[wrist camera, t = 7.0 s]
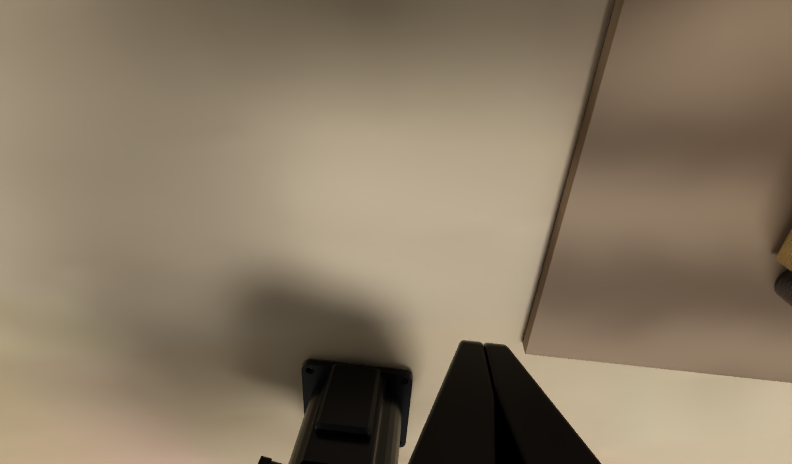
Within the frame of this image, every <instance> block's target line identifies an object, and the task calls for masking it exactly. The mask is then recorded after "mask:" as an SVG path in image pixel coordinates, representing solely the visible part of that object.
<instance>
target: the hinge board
mask: <svg viewBox="0 0 792 464" xmlns="http://www.w3.org/2000/svg"><path fill="white" fill-rule="evenodd" d="M791 229H792V0H616V1H615V5H614V8H613V12H612V16H611V19H610V23H609V27H608V30H607V34H606V38H605V41H604V45H603V49H602V52H601V56H600V60H599V64H598V67H597V71H596V75H595V78H594V82H593V86H592V89H591V93H590V97H589V100H588V104H587V108H586V111H585V115H584V119H583V123H582V126H581V130H580V134H579V137H578V141H577V145H576V148H575V152H574V156H573V159H572V163H571V167H570V170H569V174H568V178H567V181H566V185H565V189H564V193H563V196H562V200H561V204H560V207H559V211H558V215H557V218H556V222H555V226H554V229H553V233H552V237H551V240H550V244H549V248H548V252H547V255H546V259H545V263H544V266H543V270H542V274H541V277H540V281H539V285H538V288H537V292H536V296H535V299H534V303H533V307H532V311H531V314H530V318H529V322H528V325H527V329H526V333H525V336H524V340H523V347H524V351H525V354H531V355H540V356H549V357H559V358H568V359H577V360H586V361H596V362H605V363H614V364H623V365H633V366H642V367H651V368H660V369H669V370H679V371H688V372H697V373H706V374H716V375H725V376H734V377H743V378H753V379H762V380H771V381H780V382H789V383H792V307H791V306H790V305H789V304H788V303H786V302H785V301H784V300H783V299H782V298H780V297H779V296H778V295H777V294H776V292H775V289H774V285H775V282H776V280H777V278H778V277H779V276H780V274H782V273H783V272H784V271H785V270H787V269H788V268H786V267H785V266H783V265H782V264H781V263H779V262H778V261H777V260H775V258H776V256H777V254H778V253H779V251H780V249H781V247H782V245H783V244H784V242H785V240H786V238H787V236H788V234H789V233H790V231H791Z"/></svg>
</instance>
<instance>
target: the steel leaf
mask: <svg viewBox="0 0 792 464" xmlns="http://www.w3.org/2000/svg"><path fill="white" fill-rule="evenodd" d="M774 289H775V292H776V294H777V295H778V296H779V297H780V298H782V299H783V300H784V301H785V302H786V303H788V304H789V305H790V306H791V307H792V271H790V270H789V269H787V270H785V271H784V272H783V273H782V274H780V276H779V277H778V278H777V280H776V282H775V285H774Z"/></svg>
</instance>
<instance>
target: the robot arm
mask: <svg viewBox="0 0 792 464" xmlns="http://www.w3.org/2000/svg"><path fill="white" fill-rule="evenodd" d="M311 368H313V369H311ZM402 378H405V379H402ZM412 381H413V375H412V373H411V372H409V371H408V370H402V369H393V368H384V367H375V366H366V365H357V364H348V363H339V362H330V361H321V360H312V359H309V360H306V361H305V362H304V364H303V367H302V384H303V400H304V419H303V422H302V425H301V428H300V431H299V434H298V437H297V440H296V443H295V446H294V449H293V452H292V455H291V458H290V461H289V464H398V457H399V447H403V446H404V445H405V443H406V435H407V426H408V417H409V408H410V399H411V391H412ZM258 464H281V463H278V462H274V461H272V459H271V458H268V457H264V456H261V458H260V460H259V462H258ZM408 464H601V463H600V462H599V460H598V459H597V458H596V457H595V455H594V454H593V453H592V452H591V450H590V449H589V448H588V447H587V445H586V444H585V443H584V442H583V440H582V439H581V438H580V437H579V435H578V434H577V433H576V432H575V430H574V429H573V428H572V427H571V425H570V424H569V423H568V422H567V420H566V419H565V418H564V417H563V415H562V414H561V413H560V412H559V410H558V409H557V408H556V407H555V405H554V404H553V403H552V402H551V400H550V399H549V398H548V397H547V395H546V394H545V393H544V392H543V390H542V389H541V388H540V387H539V385H538V384H537V383H536V382H535V380H534V379H533V378H532V377H531V375H530V374H529V373H528V372H527V370H526V369H525V368H524V367H523V365H522V364H521V363H520V362H519V360H518V359H517V358H516V357H515V355H514V354H513V353H512V352H511V350H510V349H509V348H508V347H507V346H506V345H503V344H494V343H485V344H484V345H483V344H482V343H481V342H475V341H466V340H463V341H461V342H460V343H459V346H458V348H457V350H456V353H455V355H454V357H453V360H452V362H451V364H450V367H449V369H448V371H447V374H446V376H445V379H444V381H443V383H442V386H441V388H440V390H439V393H438V395H437V397H436V400H435V402H434V404H433V407H432V409H431V411H430V414H429V416H428V418H427V421H426V423H425V425H424V428H423V430H422V432H421V435H420V437H419V439H418V442H417V444H416V446H415V449H414V451H413V453H412V456H411V458H410V461H409V463H408Z"/></svg>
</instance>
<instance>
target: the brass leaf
mask: <svg viewBox="0 0 792 464" xmlns="http://www.w3.org/2000/svg"><path fill="white" fill-rule="evenodd" d="M775 260H777V261H778V262H779V263H781V264H782V265H783V266H785V267H786V268H788V269H789V270H790V271H792V229H791V231H790V233H789V234H788V236H787V238H786V240H785V242H784V244H783V245H782V247H781V249H780V251H779V253H778V254H777V256H776V258H775Z"/></svg>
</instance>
